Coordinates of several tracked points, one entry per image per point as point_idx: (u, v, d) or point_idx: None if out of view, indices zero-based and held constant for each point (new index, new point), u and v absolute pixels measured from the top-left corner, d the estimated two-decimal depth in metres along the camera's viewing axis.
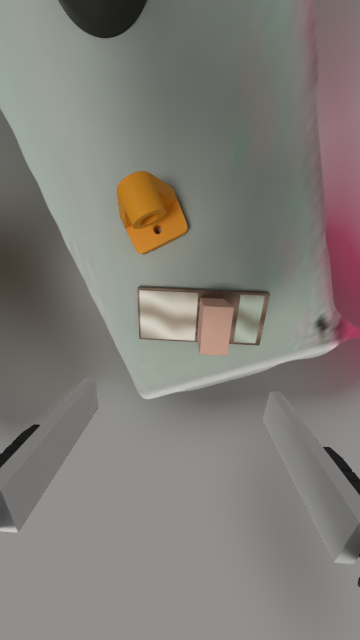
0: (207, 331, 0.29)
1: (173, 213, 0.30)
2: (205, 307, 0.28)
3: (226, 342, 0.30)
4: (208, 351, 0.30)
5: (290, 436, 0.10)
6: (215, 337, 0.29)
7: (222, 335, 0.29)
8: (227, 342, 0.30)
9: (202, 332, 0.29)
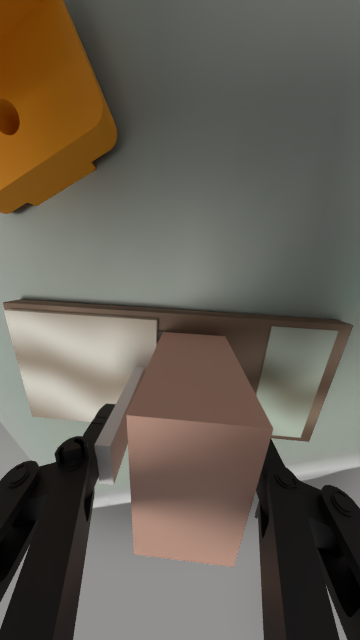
0: (155, 500, 0.07)
1: (46, 47, 0.08)
2: (134, 420, 0.06)
3: (232, 536, 0.07)
4: (165, 551, 0.08)
5: None
6: (190, 519, 0.07)
7: (215, 515, 0.07)
8: (236, 536, 0.07)
9: (135, 500, 0.07)
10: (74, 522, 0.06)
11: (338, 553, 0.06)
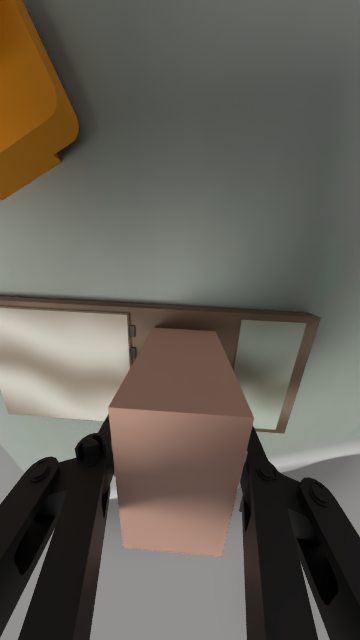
0: (141, 493, 0.07)
1: None
2: (116, 412, 0.06)
3: (219, 526, 0.08)
4: (154, 543, 0.08)
5: None
6: (177, 511, 0.07)
7: (201, 505, 0.07)
8: (223, 526, 0.08)
9: (121, 493, 0.07)
10: (93, 518, 0.06)
11: (316, 543, 0.06)
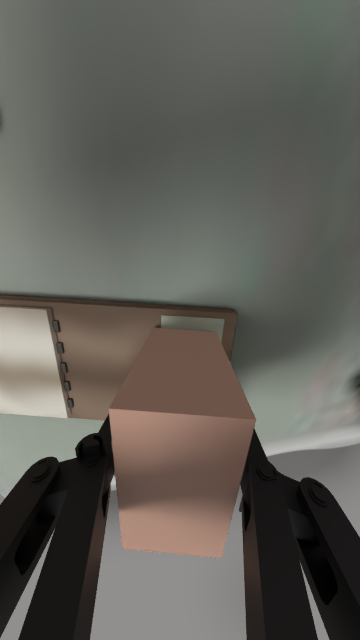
0: (141, 494, 0.07)
1: None
2: (117, 413, 0.06)
3: (219, 527, 0.08)
4: (154, 544, 0.08)
5: None
6: (177, 512, 0.07)
7: (202, 507, 0.07)
8: (223, 527, 0.07)
9: (121, 494, 0.07)
10: (93, 518, 0.06)
11: (316, 543, 0.06)
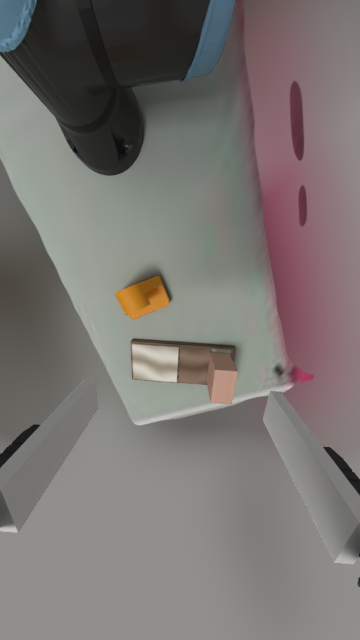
0: (217, 387, 0.38)
1: (158, 292, 0.39)
2: (216, 370, 0.37)
3: (231, 395, 0.39)
4: (217, 400, 0.39)
5: (290, 436, 0.10)
6: (223, 391, 0.38)
7: (228, 389, 0.38)
8: (232, 395, 0.39)
9: (213, 387, 0.38)
10: None
11: None
